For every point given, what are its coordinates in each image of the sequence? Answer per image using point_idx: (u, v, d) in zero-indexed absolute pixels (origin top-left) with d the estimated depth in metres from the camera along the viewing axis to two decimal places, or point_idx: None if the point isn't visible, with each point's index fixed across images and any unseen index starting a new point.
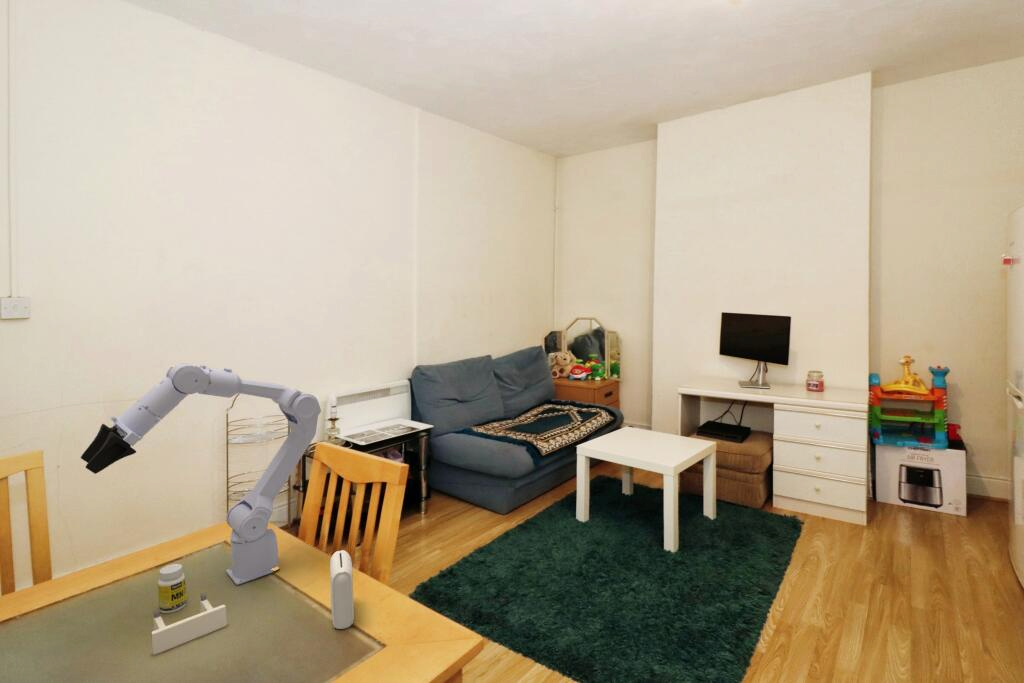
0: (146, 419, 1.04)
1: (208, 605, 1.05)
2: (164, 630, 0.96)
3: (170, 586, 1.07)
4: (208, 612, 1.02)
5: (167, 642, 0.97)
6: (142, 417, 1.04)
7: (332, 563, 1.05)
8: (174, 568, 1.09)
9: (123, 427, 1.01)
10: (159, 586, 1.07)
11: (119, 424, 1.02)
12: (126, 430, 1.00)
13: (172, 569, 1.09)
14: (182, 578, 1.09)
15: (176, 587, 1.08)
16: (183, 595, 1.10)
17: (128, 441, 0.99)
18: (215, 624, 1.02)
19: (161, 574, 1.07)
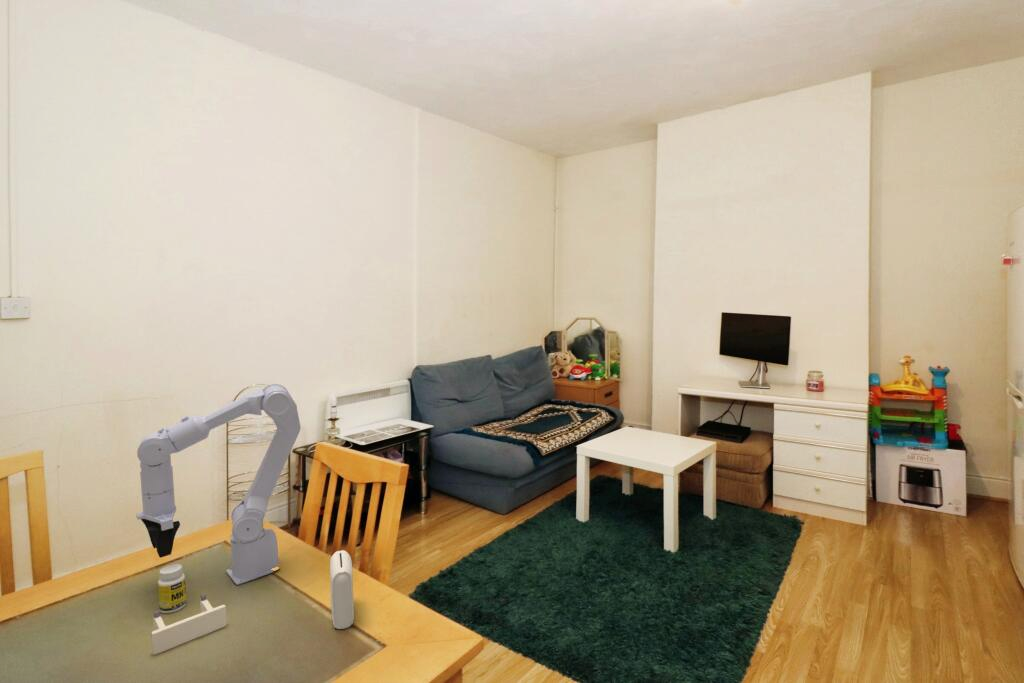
0: (162, 499, 1.11)
1: (208, 605, 1.05)
2: (164, 630, 0.96)
3: (170, 586, 1.07)
4: (208, 612, 1.02)
5: (167, 642, 0.97)
6: (157, 501, 1.11)
7: (332, 563, 1.05)
8: (174, 568, 1.09)
9: (153, 519, 1.09)
10: (159, 586, 1.07)
11: (148, 518, 1.10)
12: (157, 521, 1.09)
13: (172, 569, 1.09)
14: (182, 578, 1.09)
15: (176, 587, 1.08)
16: (183, 595, 1.10)
17: (166, 528, 1.08)
18: (215, 624, 1.02)
19: (161, 574, 1.07)
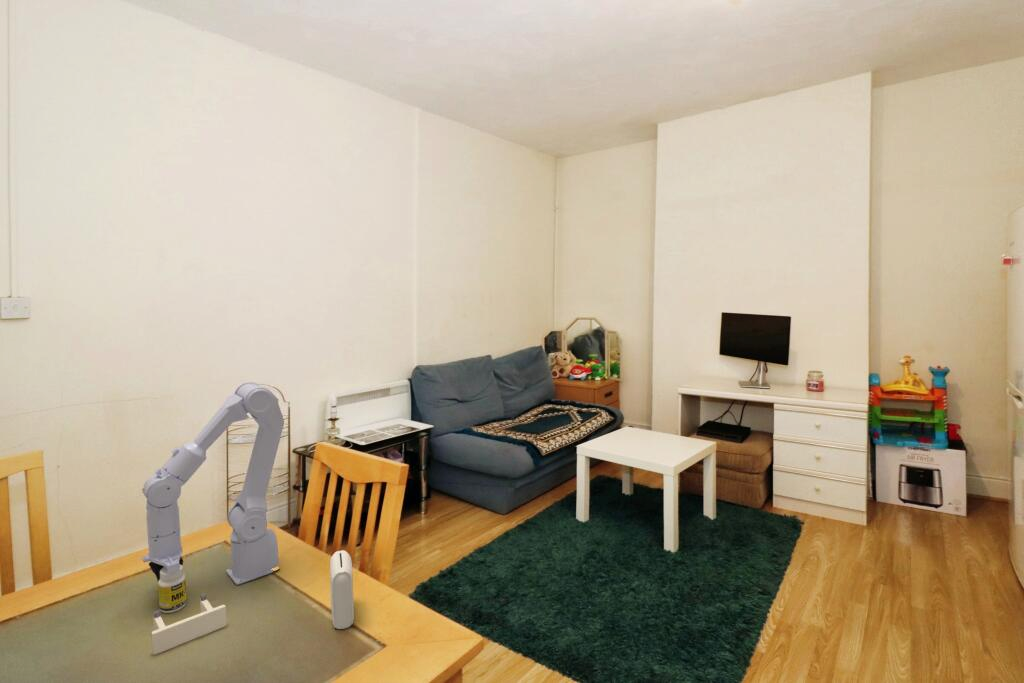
0: (168, 541, 1.09)
1: (208, 605, 1.05)
2: (164, 630, 0.96)
3: (170, 587, 1.07)
4: (208, 612, 1.02)
5: (167, 642, 0.97)
6: (164, 543, 1.09)
7: (332, 563, 1.05)
8: None
9: (159, 563, 1.08)
10: (159, 586, 1.07)
11: (154, 561, 1.08)
12: (163, 564, 1.07)
13: None
14: (182, 579, 1.09)
15: (177, 587, 1.08)
16: (183, 595, 1.09)
17: (172, 572, 1.06)
18: (215, 624, 1.02)
19: (161, 575, 1.07)
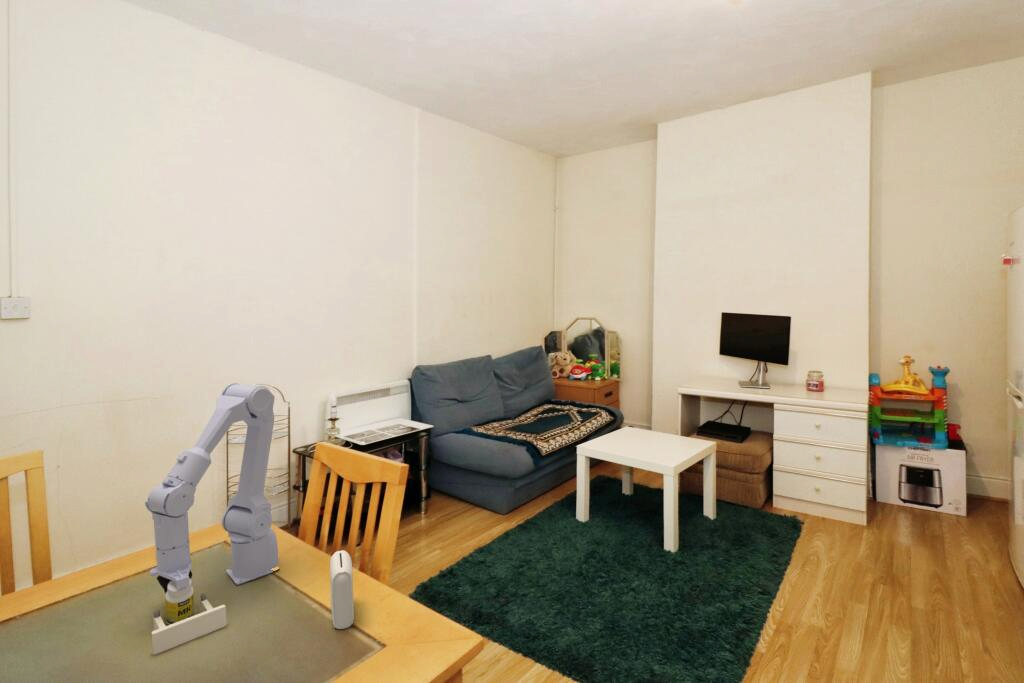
0: (177, 554, 1.04)
1: (208, 605, 1.05)
2: (164, 630, 0.96)
3: (177, 603, 1.02)
4: (208, 612, 1.02)
5: (167, 642, 0.97)
6: (172, 556, 1.04)
7: (332, 563, 1.05)
8: None
9: (167, 577, 1.02)
10: (166, 601, 1.02)
11: (162, 575, 1.03)
12: (172, 579, 1.02)
13: None
14: (190, 594, 1.04)
15: (184, 603, 1.03)
16: (190, 609, 1.05)
17: (182, 586, 1.01)
18: (215, 624, 1.02)
19: (169, 590, 1.01)
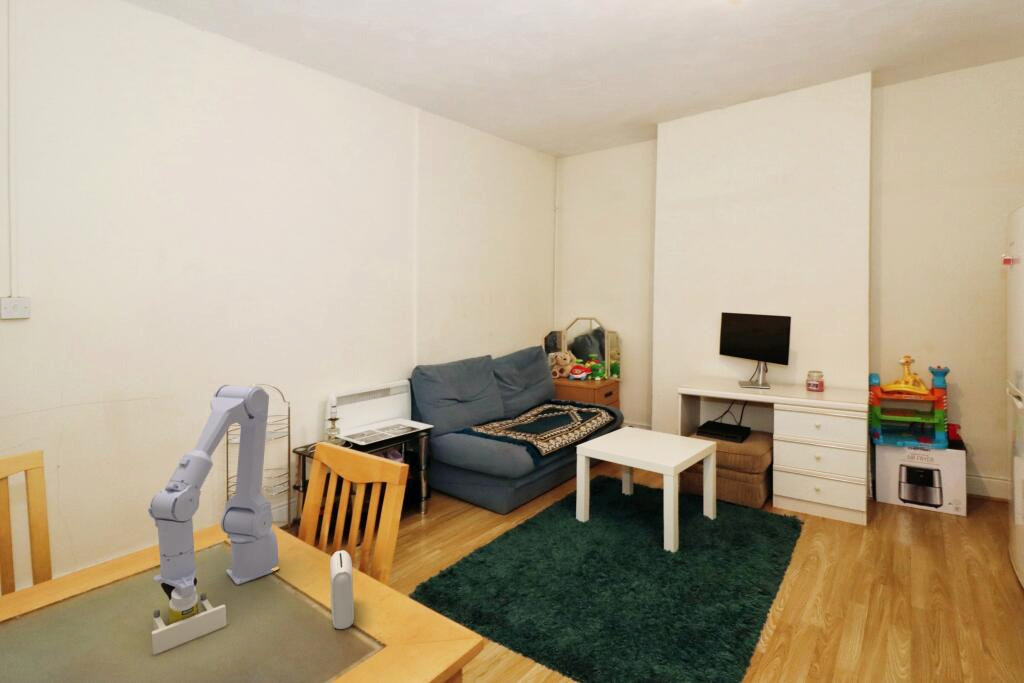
0: (182, 561, 1.02)
1: (208, 605, 1.05)
2: (164, 630, 0.96)
3: (181, 611, 0.99)
4: (208, 612, 1.02)
5: (167, 642, 0.97)
6: (177, 563, 1.01)
7: (332, 563, 1.05)
8: None
9: (172, 584, 1.00)
10: (170, 608, 0.99)
11: (167, 582, 1.01)
12: (176, 586, 0.99)
13: None
14: (194, 602, 1.01)
15: (188, 612, 1.00)
16: None
17: (187, 594, 0.99)
18: (215, 624, 1.02)
19: (172, 598, 0.99)
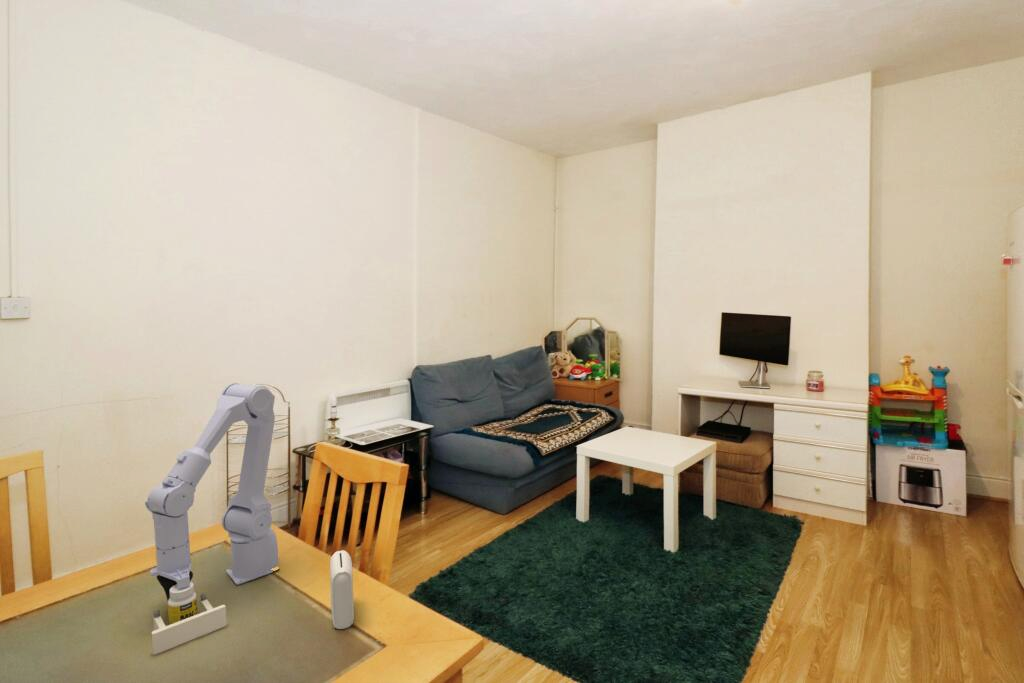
0: (177, 554, 1.04)
1: (208, 605, 1.05)
2: (164, 630, 0.96)
3: (179, 606, 1.00)
4: (208, 612, 1.02)
5: (167, 642, 0.97)
6: (173, 556, 1.04)
7: (332, 563, 1.05)
8: (185, 587, 1.02)
9: (168, 576, 1.03)
10: (168, 606, 1.01)
11: (163, 575, 1.03)
12: (172, 578, 1.02)
13: (182, 588, 1.02)
14: (193, 598, 1.02)
15: (186, 607, 1.01)
16: None
17: (183, 586, 1.02)
18: (215, 624, 1.02)
19: (171, 593, 1.01)
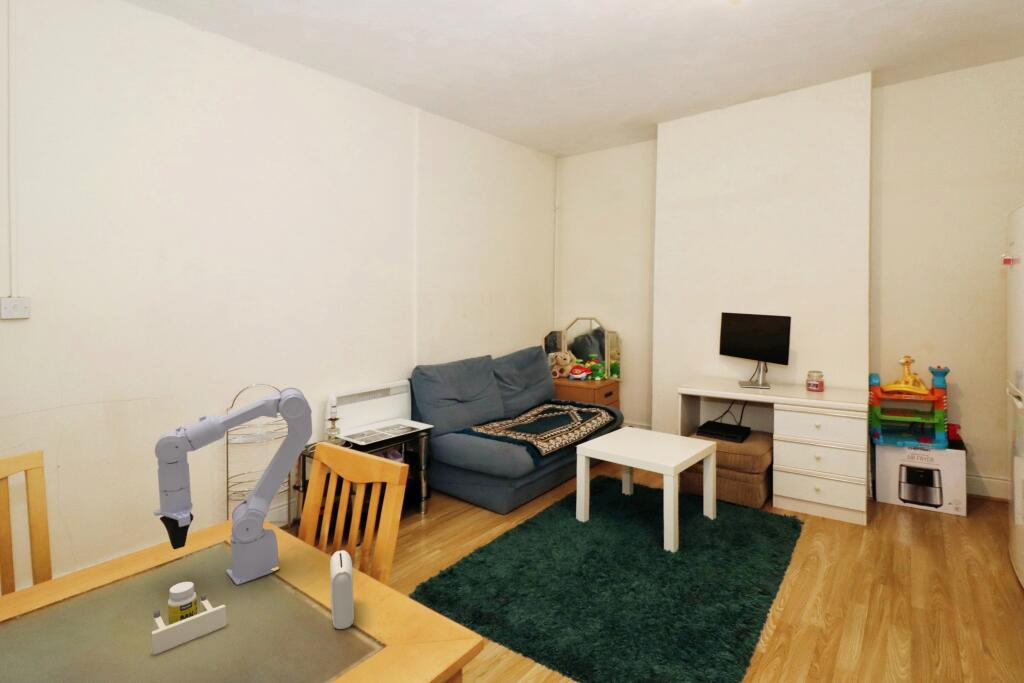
0: (179, 496, 1.13)
1: (208, 605, 1.05)
2: (164, 630, 0.96)
3: (179, 606, 1.00)
4: (208, 612, 1.02)
5: (167, 642, 0.97)
6: (175, 498, 1.12)
7: (332, 563, 1.05)
8: (185, 587, 1.02)
9: (170, 516, 1.11)
10: (168, 606, 1.01)
11: (165, 515, 1.12)
12: (174, 517, 1.11)
13: (182, 588, 1.02)
14: (193, 598, 1.02)
15: (186, 607, 1.01)
16: None
17: (184, 524, 1.10)
18: (215, 624, 1.02)
19: (171, 593, 1.01)
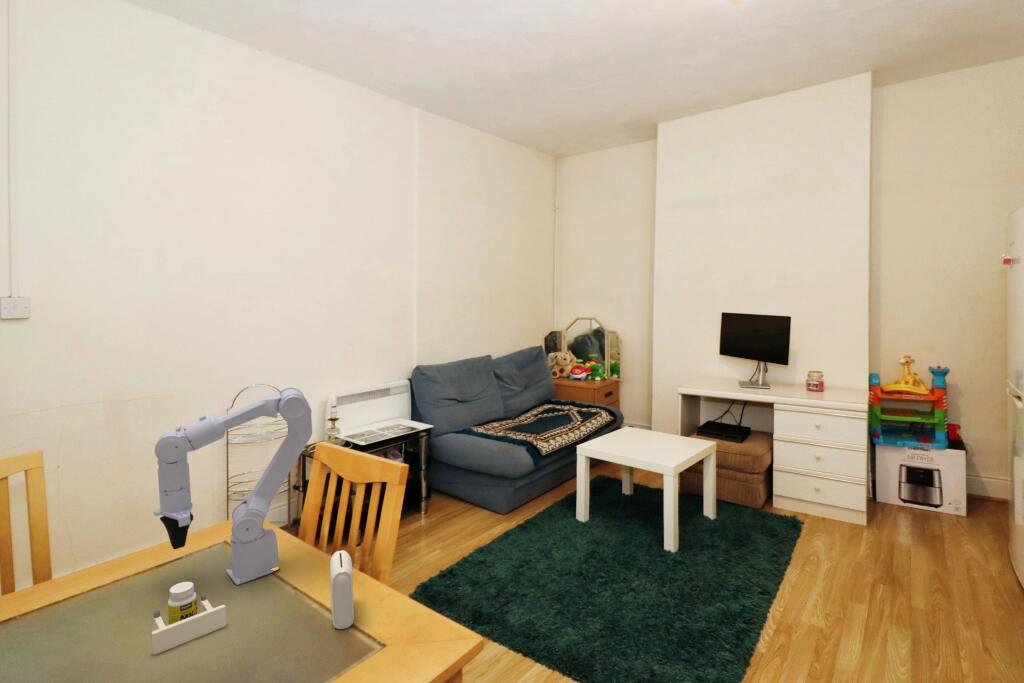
0: (179, 496, 1.13)
1: (208, 605, 1.05)
2: (164, 630, 0.96)
3: (179, 606, 1.00)
4: (208, 612, 1.02)
5: (167, 642, 0.97)
6: (175, 498, 1.12)
7: (332, 563, 1.05)
8: (185, 587, 1.02)
9: (170, 516, 1.11)
10: (168, 606, 1.01)
11: (165, 515, 1.12)
12: (174, 517, 1.11)
13: (182, 588, 1.02)
14: (193, 598, 1.02)
15: (186, 607, 1.01)
16: None
17: (184, 524, 1.10)
18: (215, 624, 1.02)
19: (170, 593, 1.01)
